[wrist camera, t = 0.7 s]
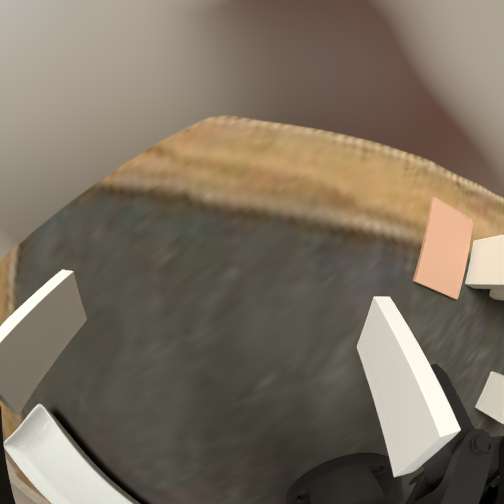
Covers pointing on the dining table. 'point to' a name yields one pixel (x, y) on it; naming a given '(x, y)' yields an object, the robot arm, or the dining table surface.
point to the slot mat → (444, 249)
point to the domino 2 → (493, 397)
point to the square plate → (60, 463)
